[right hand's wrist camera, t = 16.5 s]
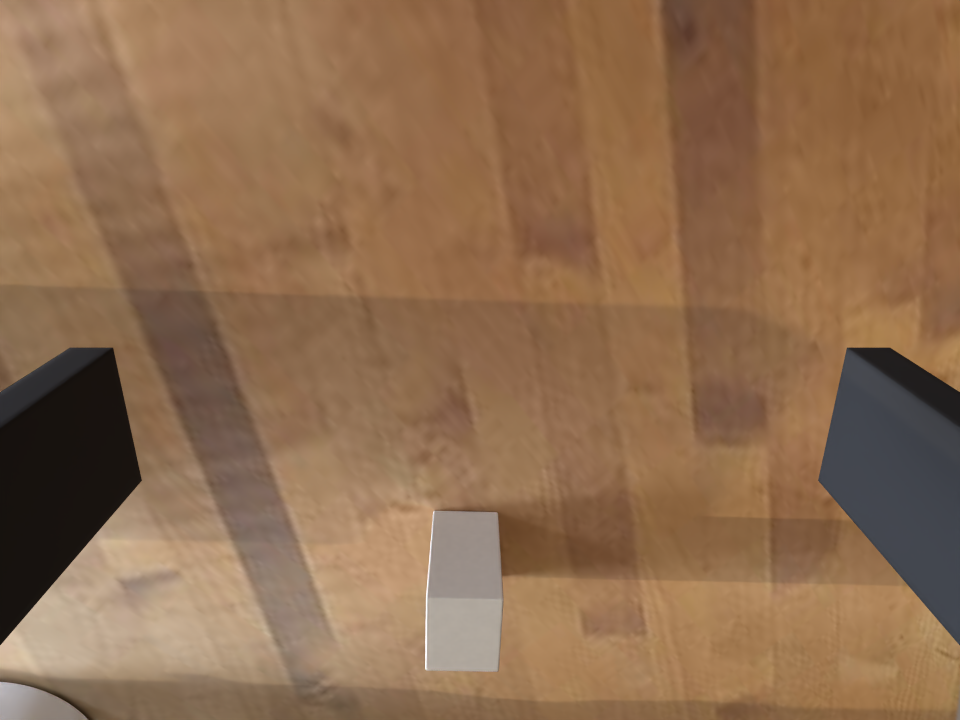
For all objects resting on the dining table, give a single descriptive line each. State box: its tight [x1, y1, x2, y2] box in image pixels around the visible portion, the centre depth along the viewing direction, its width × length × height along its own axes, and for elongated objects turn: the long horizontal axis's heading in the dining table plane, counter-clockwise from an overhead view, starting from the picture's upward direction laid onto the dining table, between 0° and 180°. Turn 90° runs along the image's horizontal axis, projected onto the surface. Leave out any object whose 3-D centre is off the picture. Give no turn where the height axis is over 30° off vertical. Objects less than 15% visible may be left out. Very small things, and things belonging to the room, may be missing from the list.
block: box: [425, 511, 504, 672], centre depth 47 cm, size 5×6×9 cm
